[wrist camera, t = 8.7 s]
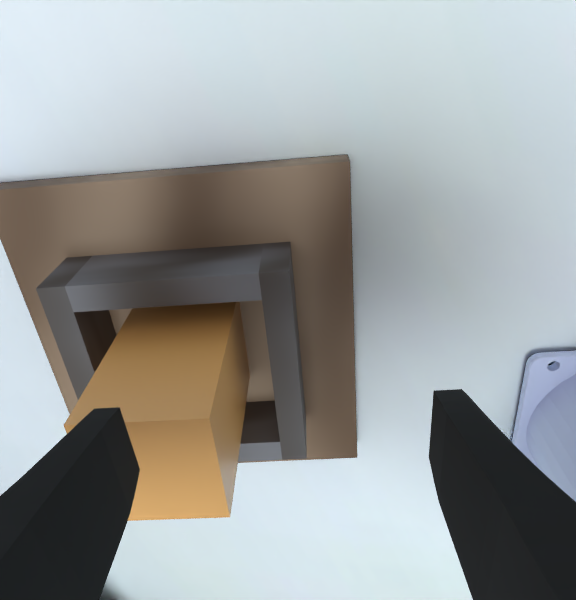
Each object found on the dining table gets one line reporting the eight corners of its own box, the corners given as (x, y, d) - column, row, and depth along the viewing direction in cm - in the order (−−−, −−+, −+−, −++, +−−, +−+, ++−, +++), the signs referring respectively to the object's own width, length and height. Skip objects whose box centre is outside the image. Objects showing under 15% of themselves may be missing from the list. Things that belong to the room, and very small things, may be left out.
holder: (347, 154, 18) (357, 181, 14) (355, 441, 24) (363, 501, 21) (-4, 183, 18) (-65, 214, 15) (98, 453, 25) (70, 513, 22)
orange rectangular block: (238, 293, 19) (209, 418, 13) (250, 375, 21) (229, 516, 15) (137, 299, 19) (63, 425, 13) (158, 379, 21) (102, 521, 15)
